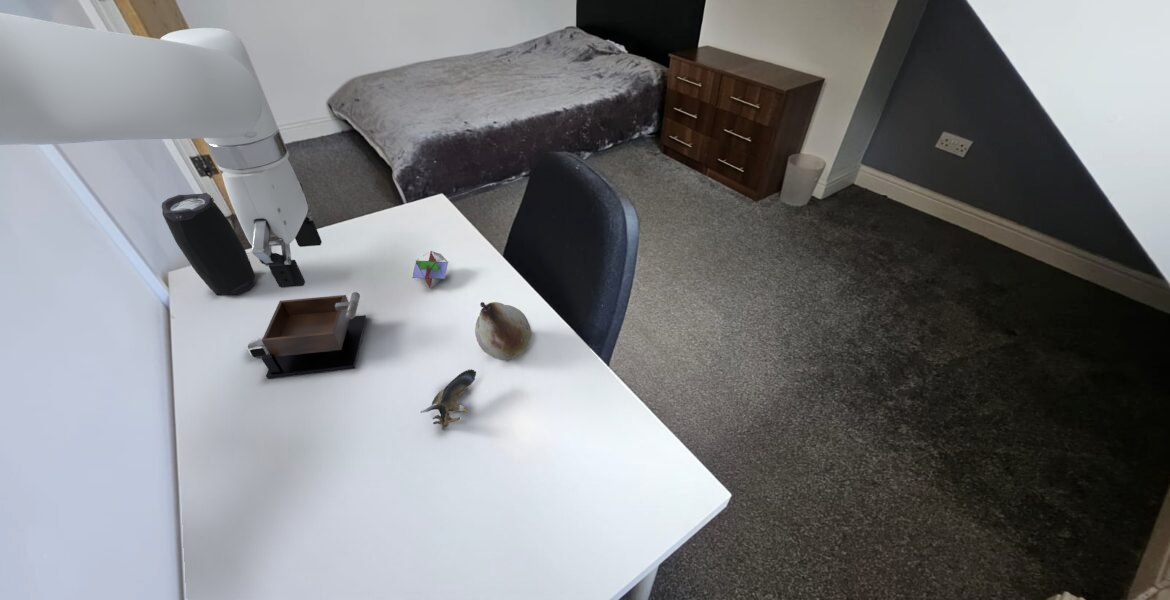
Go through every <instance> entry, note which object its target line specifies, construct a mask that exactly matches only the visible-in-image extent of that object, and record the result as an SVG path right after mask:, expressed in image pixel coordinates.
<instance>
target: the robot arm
mask: <svg viewBox="0 0 1170 600" xmlns="http://www.w3.org/2000/svg"><path fill="white" fill-rule="evenodd" d="M250 57H251V56H250V54H249V52H248V50H247V48H246V46H245V44H244V41H242V38H240V37H239V36H238V35H237V34H236V33H234V32H232V31H231V30H228V29H224V28H217V27H196V28H185V29H180V30H175V31H171V32H168V33H167V34H164V35H163V36H161V37H160V38H157V37H156V38H155V37H150V36H149V37H148V36H142V35H136V34H130V33H123V32H116V31H110V30H104V29H96V28H91V27H90V28H89V27H82V26H77V25H71V24H65V23H60V22H54V21H49V20H43V19H38V18H35V17H29V16H23V15H18V14H11V13H6V12H0V146H6V145H7V146H8V145H9V146H10V145H12V146H14V145H17V146H18V145H30V146H31V145H33V146H34V145H35V146H36V145H37V146H38V145H41V146H43V145H65V144H78V143H89V142H92V143H93V142H107V141H128V140H129V141H130V140H131V141H132V140H176V139H177V140H183V139H184V140H187V139H189V140H190V139H203V141H204V143H205V145H206V147H207V148H208V150H209V152H210V155H211V157H212V158H213V160H214V162H215V165H216V166H217V168H218V169H219V170H220V172H222V173H221V176H222V181H223V184H224V187H225V191H226V193H227V196H228V199H229V201H230V204H231V207H232V209H233V211H234V214H235V216H236V218H237V221H238V222H239V225H240V227H241V229H242V231H243V233H244V235H245V237H246V239H247V241H248V242H249V244H250V246H251V253H252V254H253V256H255V258H257V259H258V260H259V261H260V264H263V265H264V266H265V267H267V268H268V269H269V271H270V272H271V275H272V276H273V279H274V280H275V282H276V284H277V286H278V287H279V288H281V289H284V288H285V289H286V288H296V287H303V286H305V284H306V280H305V278H304V275H303V273H302V271H301V270H300V267H299V265H298V263H297V261H296V259H292V253H291V247H290V246H291V245H290V244H291V243H293V241H294V240H295V241H296V244H297V245H298V247H299V248H304V247H305V248H306V247H316V246H318V247H319V246H321V245H322V243H323V241H322V238H321V236H320V234H319V231H318V229H317V226H316V223H315V222H314V220H313V213H312V212H311V211H310V210H309V205H308V199H307V198H306V195H305V192H304V188H303V184H302V182H300V181H299V179H298V177H297V175H296V172H295V171H294V168H293V167H292V165H291V163H290V160H289V159H288V158H289V157H290V153H289V151H288V148H287V145H286V143H285V140H284V138H283V136H282V134H281V131H280V129H279V126H278V124H277V121H276V119H275V116H274V115H273V112H272V109H271V106H270V104H269V101H268V99H267V97H266V95H265V92H264V89H263V86H262V84H261V81H260V80H259V77H258V74H257V72H256V70H255V67H254V64H253V62H252V60H251V58H250ZM271 237H277V238H278V239H272V240H270V239H271ZM272 247H280V248H281V254H280V253H278V252H273V250H272Z"/></svg>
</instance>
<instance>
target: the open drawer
mask: <svg viewBox="0 0 1170 600" xmlns="http://www.w3.org/2000/svg"><path fill="white" fill-rule="evenodd" d="M360 299H361V294H360V293H359V292H358V291H353V292H352V293H351V295H350V298H349V300H348V297H347V295H346V294H341V295H330V296H328V295H327V296H318V297H317V296H316V297H306V298H295V299H294V298H293V299H284V300H279V301H278V304H277V306H276V309H275V310H274V312H273V314H272V316H271V319H270V321H269V324H268V326H267V328H266V330H265V332H264V335H263V336H262V337H263V339H262V342H263V344H264V345H263V346H264V347H266V349H267V351H268V352H269V353H268V355H270V354H273V355H274V356H275V357H278V356H288V355H297V354H307V353H316V352H326V351H335V350H342V346H343V342H344V339H345V335H346V331H347V328H348V324H349V320H350V319H353V318H354V317H355V316H356V313H357V310H358V306H359V302H360Z"/></svg>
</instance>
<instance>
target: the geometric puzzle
mask: <svg viewBox="0 0 1170 600" xmlns="http://www.w3.org/2000/svg"><path fill="white" fill-rule="evenodd" d="M429 253H430V254H429V256H428V260H418V259H416V260H415V262H414V267H413V272H412V276H411V278H412V279H414V281H415V280H416V281H417V279H421V280H422V279H423V280H425V283H426V284H427V288H429V289H430V290H431V288H433V287H435V286H436V284H434V285H433V286H432V282H433V280H441V281H443V280H446V276H447V271H448V265H449V261H448V260H447V259H446V257H444V256H443V254H441V253H439V252H436V251H433V250H430V251H429ZM426 255H427V253H425V254H424V256H426ZM439 283H440V281H438V282H437V284H439ZM422 285H424V286H425V284H424V283H422Z"/></svg>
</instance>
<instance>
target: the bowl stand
mask: <svg viewBox="0 0 1170 600" xmlns="http://www.w3.org/2000/svg"><path fill="white" fill-rule="evenodd" d="M367 317H368V316H367V314H363V315H355V317H354V318H353V319H350V320H349V324H348V328H347V331H346V335H345V339H344V342H343V346H342V350H335V351H326V352H316V353H307V354H297V355H288V356H278V357H275V356H274V355H273V354H267V355H263V356H262V357H260V358H261V360H262V362H263V364H264V366H265V367H266V368H267V372H266V375H265V377H266V379H267V380H270V379H271V380H272V379H279V378H287V377H295V376H305V375H313V374H321V373H327V372H328V373H329V372H337V371H345V370H355V369H356V367H357V363H358V358H359V355H360V350H361V345H362V342H363V337H364V333H365V328H366V324H367V319H368V318H367Z"/></svg>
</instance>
